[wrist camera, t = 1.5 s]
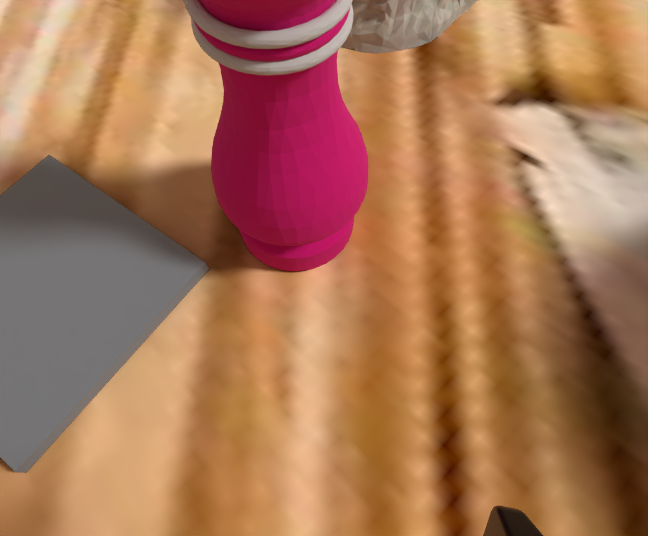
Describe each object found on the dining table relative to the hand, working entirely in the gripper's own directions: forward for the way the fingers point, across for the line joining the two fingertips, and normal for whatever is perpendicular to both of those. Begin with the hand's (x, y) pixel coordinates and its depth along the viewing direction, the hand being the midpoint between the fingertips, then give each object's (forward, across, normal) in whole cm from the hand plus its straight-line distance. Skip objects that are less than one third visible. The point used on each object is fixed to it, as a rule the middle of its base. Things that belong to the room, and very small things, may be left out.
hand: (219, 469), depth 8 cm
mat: (+14, +14, +5) cm, 21 cm away
